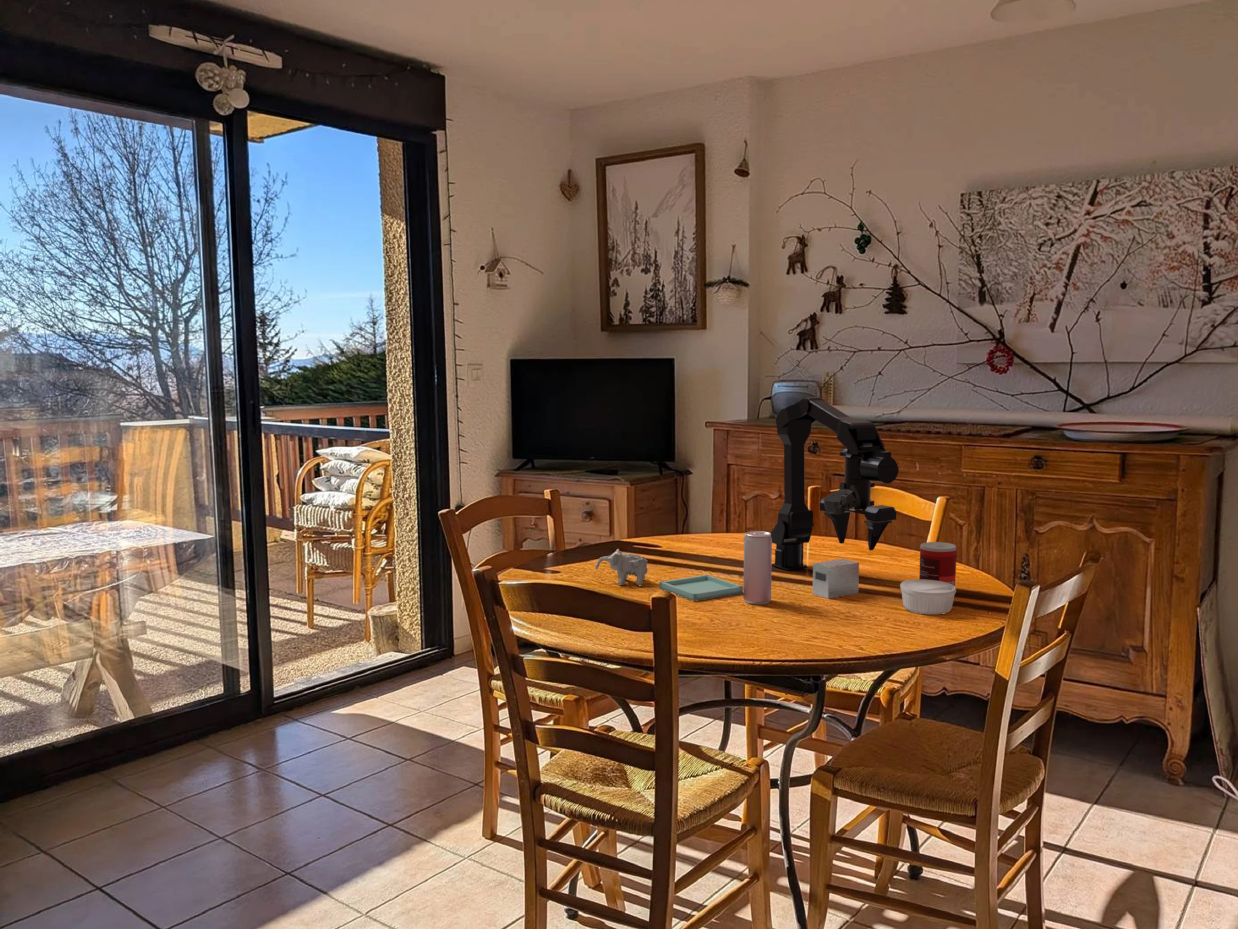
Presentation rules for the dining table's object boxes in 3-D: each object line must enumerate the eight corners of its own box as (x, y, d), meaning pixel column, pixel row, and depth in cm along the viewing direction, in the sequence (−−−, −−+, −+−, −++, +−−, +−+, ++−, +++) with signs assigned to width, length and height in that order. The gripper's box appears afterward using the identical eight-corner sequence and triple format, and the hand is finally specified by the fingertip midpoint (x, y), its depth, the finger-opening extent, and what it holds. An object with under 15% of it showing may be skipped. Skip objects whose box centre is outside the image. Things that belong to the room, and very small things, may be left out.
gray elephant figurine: (651, 588, 229) (653, 555, 228) (601, 588, 226) (602, 555, 225) (641, 579, 238) (643, 548, 237) (592, 579, 235) (594, 547, 234)
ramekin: (947, 620, 200) (948, 594, 199) (892, 612, 206) (893, 587, 205) (961, 607, 209) (961, 583, 209) (908, 600, 215) (908, 576, 214)
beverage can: (740, 598, 217) (741, 531, 215) (767, 597, 218) (768, 530, 216) (746, 605, 211) (747, 536, 210) (774, 604, 212) (774, 535, 210)
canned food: (955, 591, 223) (956, 542, 221) (954, 599, 215) (956, 549, 214) (919, 588, 225) (921, 540, 224) (918, 596, 218) (919, 547, 216)
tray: (707, 581, 233) (707, 574, 233) (742, 593, 222) (742, 586, 221) (659, 588, 226) (659, 581, 226) (693, 601, 215) (693, 594, 215)
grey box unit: (843, 588, 225) (844, 558, 225) (859, 593, 221) (860, 562, 220) (811, 594, 221) (812, 563, 220) (827, 599, 216) (828, 567, 215)
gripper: (802, 476, 225) (800, 543, 227) (861, 485, 209) (859, 558, 211) (838, 472, 230) (837, 538, 232) (899, 481, 214) (897, 552, 216)
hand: (856, 546), depth 223 cm, fingers open, 9 cm apart
